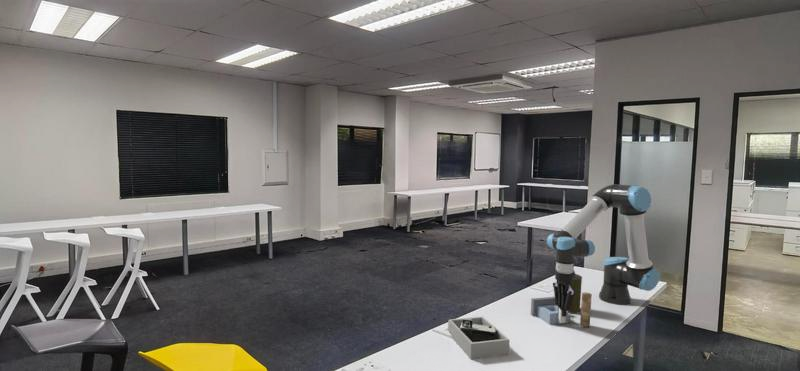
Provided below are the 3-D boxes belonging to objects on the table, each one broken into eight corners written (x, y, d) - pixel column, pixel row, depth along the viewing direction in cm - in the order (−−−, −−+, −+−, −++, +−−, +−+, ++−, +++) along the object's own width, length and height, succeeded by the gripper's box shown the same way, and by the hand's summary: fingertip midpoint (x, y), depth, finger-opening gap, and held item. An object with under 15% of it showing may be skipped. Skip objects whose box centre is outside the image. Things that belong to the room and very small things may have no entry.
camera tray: (482, 329, 181) (482, 316, 181) (508, 354, 159) (509, 339, 159) (447, 333, 177) (448, 319, 177) (470, 359, 155) (471, 343, 154)
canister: (582, 314, 201) (584, 274, 199) (559, 312, 203) (562, 272, 201) (577, 306, 212) (579, 268, 210) (556, 304, 214) (558, 266, 212)
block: (554, 314, 201) (555, 304, 200) (568, 322, 191) (568, 312, 191) (536, 316, 198) (537, 305, 198) (549, 324, 188) (549, 313, 188)
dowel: (585, 323, 190) (587, 292, 189) (591, 327, 186) (593, 295, 185) (578, 324, 189) (580, 292, 188) (584, 328, 185) (586, 295, 184)
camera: (497, 342, 169) (498, 318, 168) (495, 350, 162) (496, 325, 161) (460, 336, 174) (461, 313, 173) (457, 343, 167) (458, 319, 166)
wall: (555, 312, 203) (556, 296, 202) (558, 313, 201) (559, 297, 201) (530, 314, 200) (531, 298, 199) (533, 316, 198) (533, 300, 197)
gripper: (548, 268, 191) (545, 317, 193) (566, 276, 179) (563, 329, 181) (562, 267, 193) (559, 316, 195) (581, 275, 181) (578, 327, 183)
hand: (561, 322), depth 188 cm, fingers closed
